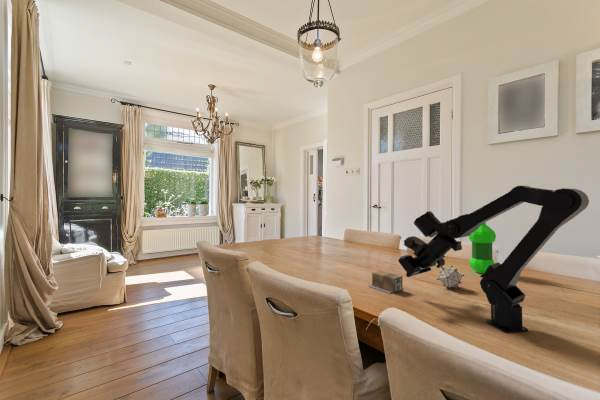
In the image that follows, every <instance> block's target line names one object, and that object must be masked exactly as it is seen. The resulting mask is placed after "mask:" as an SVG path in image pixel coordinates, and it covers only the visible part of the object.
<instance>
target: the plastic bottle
mask: <svg viewBox="0 0 600 400" xmlns="http://www.w3.org/2000/svg"><path fill="white" fill-rule="evenodd" d="M468 239H469V240H470V241H471V258H470V259H469V266H470V268H471V269H472V270H473V271H474V272H475V273H477V274H480V275H481V274H482V275H483V274H484V273H485V272H486V270H487V268H488V266H489V265H492V264H495V263H496V262H495V260H494V259H493V243H494V242H495V241H496V232H495V231H494V229H492V228H491V227H490V226H488V225H487V222H485V223H483V224H482V225H481V226H480V227H479V228H478V229H477V230H476V231H474V232H473V233H472V234H470V235H469V236H468Z"/></svg>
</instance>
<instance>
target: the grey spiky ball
mask: <svg viewBox="0 0 600 400" xmlns="http://www.w3.org/2000/svg"><path fill="white" fill-rule="evenodd" d="M440 268H441V270H440V271H439V277H438V278H436V280H437V281H440V282H441V283H442V284H443V286H446V287H447V290H450V288H456V287H457V289H460V287H459V285H460V284H461V285H462V281H461V280H462V278H463V277H465V274H461V273H460V272H459V271H458V268H454V267H453V265H451V266H450V267H444V266H442V267H440Z"/></svg>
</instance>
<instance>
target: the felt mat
mask: <svg viewBox="0 0 600 400" xmlns="http://www.w3.org/2000/svg"><path fill="white" fill-rule="evenodd" d="M368 287H369V288H371V289H373V290H377V291H380V292H383V293H387V294H390V295H391V294H393V293H395V292H390V291H387V290H384V289H381V288H378V287H375V286H372V284H370V285H368Z"/></svg>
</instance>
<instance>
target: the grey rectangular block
mask: <svg viewBox="0 0 600 400" xmlns="http://www.w3.org/2000/svg"><path fill="white" fill-rule="evenodd" d="M371 285H372V286H375V287H378V288H381V289H384V290H387V291H390V292H394V293H398V292H401V291H403V290H404V288H403V276H402V275H399V274H395V273H391V272H387V271H383V270H378V271H374V272H372V273H371Z"/></svg>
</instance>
